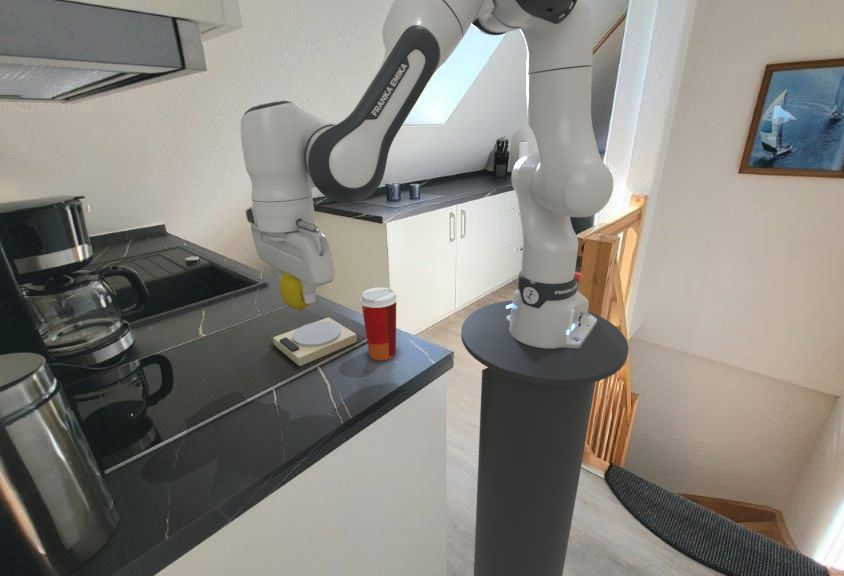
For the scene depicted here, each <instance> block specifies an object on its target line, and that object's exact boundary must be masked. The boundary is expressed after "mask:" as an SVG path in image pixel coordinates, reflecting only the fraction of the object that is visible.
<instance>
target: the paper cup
mask: <svg viewBox="0 0 844 576" xmlns="http://www.w3.org/2000/svg"><path fill="white" fill-rule="evenodd" d="M398 300H399V297H398V296H397V294H396V292H395V290H393V289H391V288H389V287H385V286H384V287H383V286H381V287H380V286H378V287H372V288H368V289H366V290H364V291H363V292H362V294H361V296H360V299H359V305H361V310H362V314H363V323H364V329H365V336H366V342H367V348H368V353H369V357H370V359H373V360H375V361H387V360H390V359H392V358H394V356H395V355H396V353H397V302H398Z"/></svg>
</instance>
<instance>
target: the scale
mask: <svg viewBox="0 0 844 576" xmlns="http://www.w3.org/2000/svg"><path fill="white" fill-rule="evenodd" d="M272 340H273V345H274V346H275V347H276V348H277V349H278V350H279V351H281V352H282V353H283V354H284V355H285V356H286V357H288V359H290V360H291V361H293V363H295V364H296V365H297V366H299V367H302V366H304V365H307V364H309V363H312V362H313V361H316V360H318V359H321V358H322V357H325V356H327V355H330V354H332V353H334V352H337V351H339V350H342V349H344V348H346V347H348V346H351V345H353V344H355V343H357V342H358V338H357V333H355V332H354V331H352V330H351V329H349V328H347V327H345V326H344V325H342V324H341V323H339V322H337V321H336V320H335V319H332V318H331V317H329V316H328V317H326V318H322V319H321V320H320V319H319V320H317V321H314V322H311V323H308V324H303V325H302V326H300V327H298V328H296V329H292V330H289V331H287V332H284V333H281V334H278V335H276V336H274V337H272Z"/></svg>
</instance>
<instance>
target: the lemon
mask: <svg viewBox="0 0 844 576" xmlns="http://www.w3.org/2000/svg"><path fill="white" fill-rule="evenodd" d="M300 292H303V285H302V284H301V280H299V279H297V278H295V277H294V276H292V275H290V274H288V273H286V272H285V273H284V275H283V276H282V278H281V281H279V293H280V297H281V299H282V301H283V302H284V304H285V305H287V307H289V308H291V309H294V310H297V311H299V312H302V311H304V309H305V308H307V307H309V306H310V305H311V304H312V303H310V304H306V303H305V302H303V301H302V299H301V298H302V297H301V293H300Z"/></svg>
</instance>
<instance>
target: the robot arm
mask: <svg viewBox="0 0 844 576" xmlns="http://www.w3.org/2000/svg"><path fill="white" fill-rule="evenodd" d="M589 7H590V6H589V4H588V3H587V2H586V0H393V3H392V4H391V6H390V8H389V11H388V13H387V15H386V18H385V21H384V23H383V26H382V31H381V35H382V42H383V46H384V49H385V51H384V56H383V59H382V62H381V64H380V66H379V68H378V70H377V72H376V73H375V75H374V77H373V78H372V80H371V81H370V83H369V84H368V86H367V87H366V89H365V91H364V92H363V94H362V95H361V97H360V99H359V100H358V102H357V103H356V105H355V107H354V108H353V110H352V111H351V112H350V114H349V115H347V116H346V118H344V119H343V120H341V121H340V122H339V123H337V124H335V123H333V122H330V121H327V120H324V119H322V118H320V117H317V116H316V115H313V114H311V113H309V112H307V111H305V110H304V109H302V108H301V107H299V106H298V105H296V104H295V103H294V102H293V101H289V100H280V101H273V102H267V103H263V104H258V105H255V106H252V107H250V108H248V109H247V110H246V111H245V112H244V113H243V116H241V119H240V139H241V141H240V142H241V146H242V147H241V149H242V155H243V160H244V166H245V170H246V173H247V174H248V176H249V179H250V182H251V195H250V196H251V202H252V205H251V206H250V207H249V206H248V207H247V208H246V209H245V210H244V214H245V219H246V222H248V223H249V224H250V230H251V235H252V239H253V243H254V246H255V250H256V253H257V255H258V257H259V259H260V260H261V261H263V262H265V263H266V264H269V265H270V266H272V267H274V270H275V273H276V275H277V277H278V279H279V282H281V278H282V276H283V275H284V273H285V272H286V273H288V274H290V275H292V276H294V277H295V278H297V279H299V280H301V284H302V285H303V292H300V293H301V297H302V298H301V299H302V301H303V302H305V303H306V304H310V303H311V304H312V303H315V302H316V289H317V287H321V286H325V285H327V284H331V283H332V282H334V279H335V276H336V272H335V266H334V261H333V257H332V252H331V247H330V244H329V241H328V239H327V237H326V236H325V235H324V234H323V233H322V232H321V231H320V229H319V228H318V226H317V221H316V213H315V212H316V211H315V206H314V199H313V189H314V188H316V189H317V190H318V191H319V192H320V193H321V194H322V195H323V196H325V197H326V198H328V199H330V200H331V201H334V202H337V203H341V204H354V203H360V202H361V201H364V200H366V199H368V198H369V197H371V196H372V195H373V194H374V193H375V192H376V191H377V190H378V188H379V187H380V185H381V183H382V181H383V179H384V176H385V172H386V168H387V163H388V157H389V153H390V149H391V146H392V144H393V143H394V139H395V138H396V136H397V135H398V133H399V132H400V130H401V128H402V126H403V125H404V124H405V121H406V119H407V118H408V117H409V115H410V113H411V111H412V110H413V108H414V107H415V105H416V103H417V102H418V100H419V98H420V97H421V95H422V93H423V92H424V90H425V89H426V87H427V85H428V84H429V82H430V81H431V80H432V79H433V77H434V76H435V75H436V74H437V73H438V71H439V70H440V68H442V66H443V65H444V64H445V63H446V62H447V60H448V59H449V57H450V56H451V55H452V54H453V53H454V51H455V50H456V49H457V47H458V46H459V44H460V43H461V41H462V40H463V38H464V37H465V35H466V33H468V31H469V28H471V26H472V27H473V28H474V29H476V30H477V31H479V32H480V33H482V34H484V35H488V36H501V35H505V34H507V33H508V32H509V33H510V32H513V31H517V30H520V32H521V34H522V37H523V39H524V41H525V45H526V46H525V47H526V51H527V53H526V54H527V56H526V120H527V124H528V126H529V128H530V129H531V130H532V133H533V135H534V139H535V141H536V142H535V143H536V145H537V149H538V151H534V152H531V153H528V154H524V155H523V156H522V157H521V158H519V159H518V160H517V161H516V163H515V164H514V166H513V168H512V171H511V180H510V181H511V185H512V188H513V190H514V192H515V195H516V198H517V202H518V208H519V209H518V210H519V217H520V223H521V231H522V249H521V250H522V252H521V267H520V271H519V272H518V277H517V289H516V290H514V292H513V296H512V300H513V302H512V304H510V305H507V306H506V309H508V308H511V307H512V308H511V314H510V315H508V316H507V318H506V322H507V323H508V324H509V332H510V334H511V335H512V336H513V337H514V338H515V339H516V340H518V341H520V342H522V343H524V344H526V345H530V346H533V347H539V348H564V347H565V348H580V347H581V346H582V344H583V343H584V342H585V340H586V339H587V337H588V336H589V334H590V333H591V331H592V330H593V328H594V327H595V325H596V324H597V319H596V318H595V317H594V316H592V315H590V314H589V313H588V311H589V305H590V303H589V302H590V301H589V300H588V299H587V297H586V296H584V295H583V294H582V293H581V292H580V291H579V290H578V283H581V282H582V281H583V280H584V273H582V272H577V271H576V266H577V258H578V251H579V239H578V235H577V233H576V232H575V230H574V228H573V224H572V220H571V218H588V217H592V216H595V215H596V214H598V213H600V212H601V211H602V210H603V209H604V208H605V207H606V206H607V205H608V203H609V201H610V199H611V197H612V195H613V191H614V178H613V174H612V172H611V170H610V169H609V167H608V166H607V164H606V163H605V162H604V161H603V159H602V157H601V153H600V152H599V147H598V144H597V141H596V137H595V132H594V127H593V120H592V119H593V118H592V87H593V86H592V84H593V83H592V82H593V61H594V60H593V58H594V57H593V55H594V53H593V52H594V50H593V49H594V48H593V47H594V46H593V30H592V28H593V27H592V19H591V13H590V8H589ZM311 304H310V305H311Z"/></svg>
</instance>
